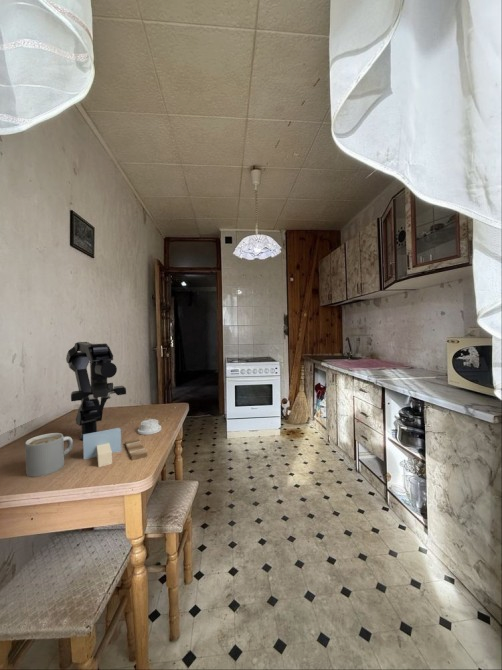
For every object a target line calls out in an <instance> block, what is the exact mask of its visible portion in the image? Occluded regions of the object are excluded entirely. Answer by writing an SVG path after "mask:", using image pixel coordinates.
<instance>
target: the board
mask: <svg viewBox="0 0 502 670" xmlns="http://www.w3.org/2000/svg"><path fill="white" fill-rule="evenodd" d="M124 445H125V447H126V450H127V451H128V455H129V457H130V459H131V461H134V460H138V459H142V458H146V457H148V453H147V450H146V448H145V447H144V446H143V444H142V442H141V441H140V439H139V438H134V439H129V440H125V441H124Z"/></svg>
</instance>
